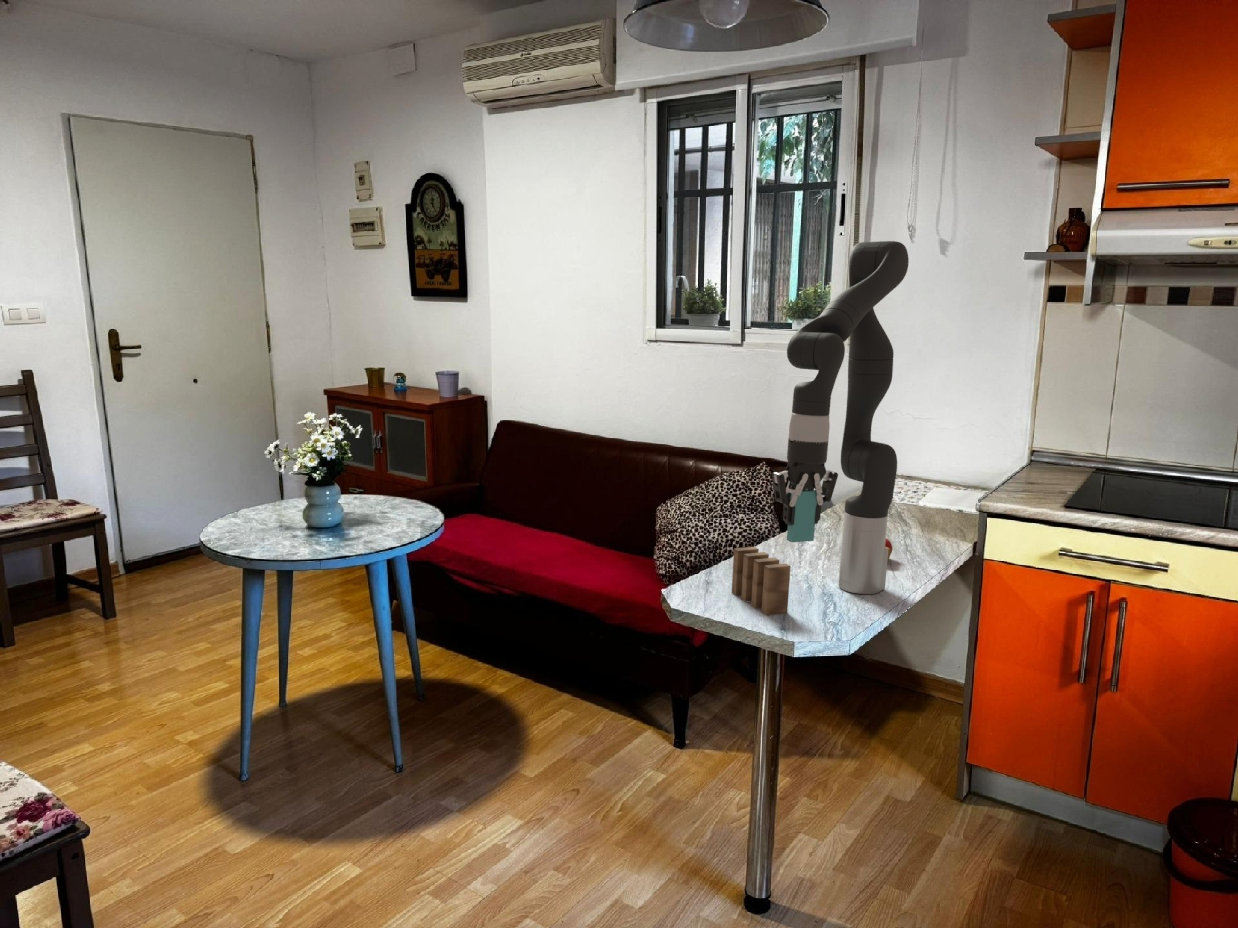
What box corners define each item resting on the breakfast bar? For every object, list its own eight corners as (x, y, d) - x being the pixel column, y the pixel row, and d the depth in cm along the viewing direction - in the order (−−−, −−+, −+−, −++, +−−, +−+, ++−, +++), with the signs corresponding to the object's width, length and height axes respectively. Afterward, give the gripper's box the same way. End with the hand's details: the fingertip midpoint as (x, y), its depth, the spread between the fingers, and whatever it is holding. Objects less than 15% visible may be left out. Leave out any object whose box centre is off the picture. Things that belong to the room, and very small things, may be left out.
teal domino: (808, 538, 169) (812, 489, 167) (813, 540, 167) (817, 491, 165) (786, 539, 167) (790, 490, 165) (791, 542, 165) (795, 491, 163)
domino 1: (751, 590, 187) (754, 546, 185) (755, 593, 185) (758, 549, 184) (731, 592, 185) (734, 548, 183) (735, 595, 184) (738, 550, 182)
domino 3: (771, 603, 179) (774, 557, 178) (776, 606, 178) (779, 560, 176) (751, 605, 178) (753, 559, 176) (755, 608, 176) (758, 561, 174)
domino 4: (782, 610, 176) (785, 563, 174) (787, 613, 174) (790, 565, 172) (761, 612, 174) (764, 565, 172) (766, 615, 172) (769, 567, 170)
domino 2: (761, 596, 183) (764, 552, 181) (765, 599, 182) (768, 554, 180) (741, 599, 181) (743, 553, 180) (745, 601, 180) (747, 556, 178)
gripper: (828, 434, 169) (820, 517, 172) (765, 435, 164) (759, 521, 167) (851, 440, 163) (843, 526, 166) (787, 440, 157) (780, 530, 160)
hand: (801, 523), depth 166 cm, fingers closed on teal domino, 5 cm apart
